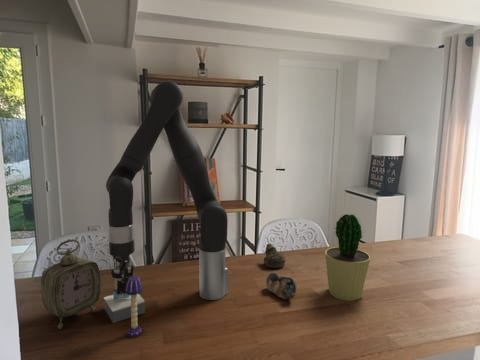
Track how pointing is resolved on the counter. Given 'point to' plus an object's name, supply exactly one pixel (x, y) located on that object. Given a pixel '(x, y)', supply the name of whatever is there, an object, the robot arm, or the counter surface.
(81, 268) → the tabletop clock
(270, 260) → the seashell
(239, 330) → the counter surface
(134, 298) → the toy lamp
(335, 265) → the potted cactus
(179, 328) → the counter surface
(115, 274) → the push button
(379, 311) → the counter surface
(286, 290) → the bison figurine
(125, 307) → the plinth
